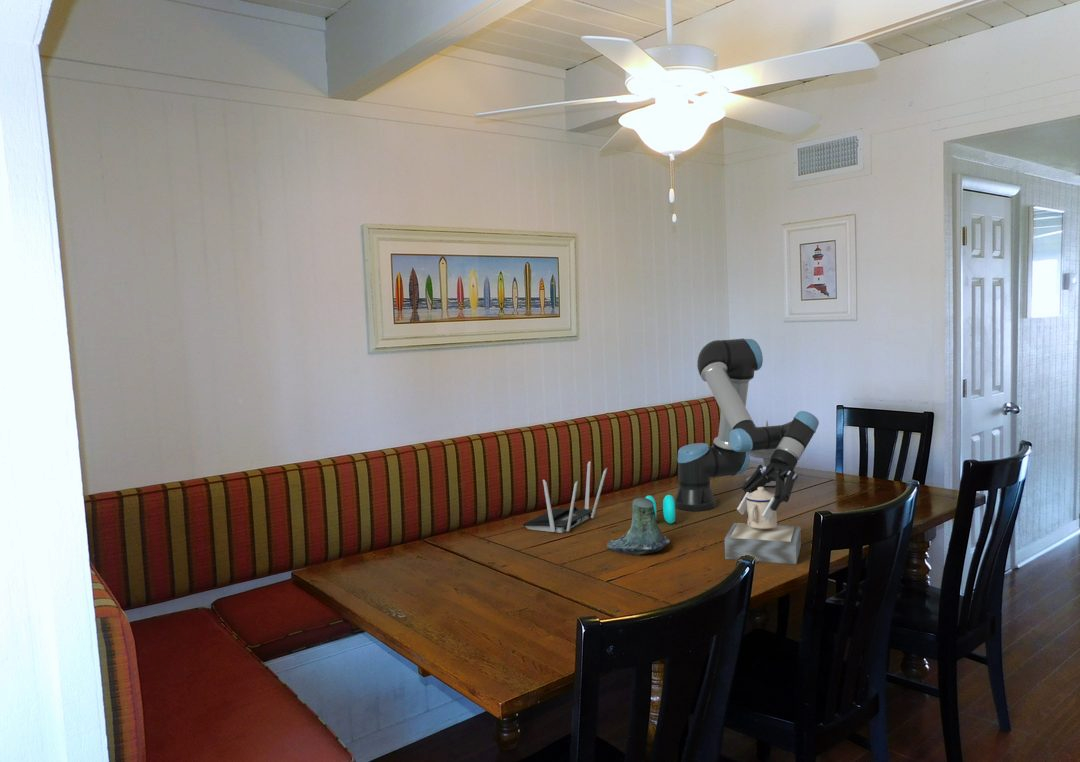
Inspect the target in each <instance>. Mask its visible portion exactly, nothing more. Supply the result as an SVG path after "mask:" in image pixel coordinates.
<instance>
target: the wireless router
mask: <svg viewBox="0 0 1080 762" xmlns="http://www.w3.org/2000/svg"><path fill="white" fill-rule="evenodd" d="M591 465H592V464H591V461H587V465H586V467H587V469H586V481H585V494H584V495H585V496H584V508H577V507H575V501H576V496H577V495H576V494H577V489H578V483H579V480H576V481H575V483H574V485H573V491H572V496H571V501H570V507H569V508H554V509H552V505H551V499H550V493H549V488H548V484H547V480H545V479H542V484H543V488H544V489H543V490H544V496H545V503H546V508H547V512H545V513H544V514H541V515H538V516H537V517H535V518H533V519H531V520H529V521H528V520H527V522H524V523H522V526H524V527H525V528H526V529H527V530H531V531H532V530H533V531H541V532H550V533H558V534H559V533H560V534H562V533H565V532H569V531H571V529H572V528H575V526H577V525H579V524H582V523H583V522H585V521H587V520H589V519H590V518H591V519H594V518H595V514H596V513H597V508H598V503H599V501H600V496H601V493H602V490H603V486H604V482H605V479H606V475H607V470H608V467H606V468H605V469H604V470H603V472H602V475H601V479H600V483H599V487H598V491H597V493H596V497H595V501H594V504H593V508H592V509H589V508H590V507H589V506H590V488H591V487H590V485H591V484H590V483H591V482H590V481H591Z"/></svg>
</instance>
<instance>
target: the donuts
mask: <svg viewBox="0 0 1080 762" xmlns="http://www.w3.org/2000/svg"><path fill="white" fill-rule="evenodd" d="M644 498H647V499H650V500H651V501H652V502H653V506H654V511H655V516H656V517H657V504H656V500H655V498H654V497H653V496H652V495H646V496H644ZM662 510H663V512H662V513H663V518H664V521H666V523H667V524H674V522H676V507H675V498H674V496H673V495H672V494H667V495H665V496H664V498H663V500H662Z"/></svg>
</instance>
